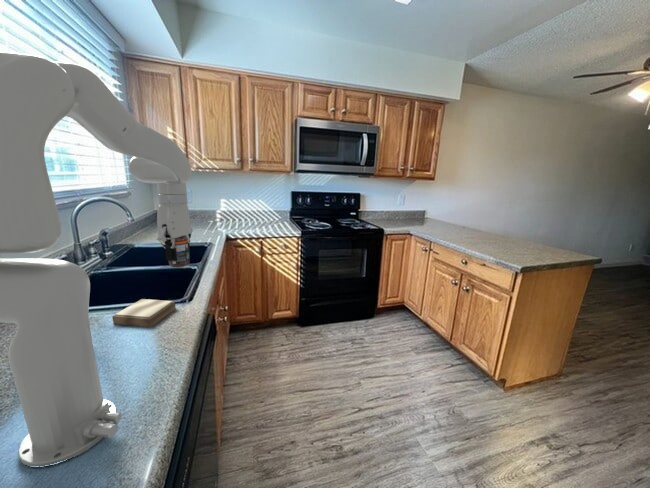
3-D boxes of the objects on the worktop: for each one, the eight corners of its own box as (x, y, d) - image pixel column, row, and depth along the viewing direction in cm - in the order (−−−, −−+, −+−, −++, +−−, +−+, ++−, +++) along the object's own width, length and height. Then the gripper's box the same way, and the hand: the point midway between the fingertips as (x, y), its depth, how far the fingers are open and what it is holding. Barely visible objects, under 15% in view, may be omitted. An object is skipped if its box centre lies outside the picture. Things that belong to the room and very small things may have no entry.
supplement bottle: (169, 263, 89) (165, 228, 86) (189, 261, 91) (187, 227, 89) (168, 268, 84) (164, 232, 81) (190, 266, 86) (187, 231, 84)
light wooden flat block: (175, 308, 94) (174, 300, 93) (150, 327, 82) (149, 317, 82) (142, 306, 95) (141, 298, 94) (113, 324, 83) (112, 314, 83)
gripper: (179, 198, 92) (184, 250, 96) (139, 201, 75) (147, 264, 79) (200, 198, 91) (204, 251, 95) (165, 202, 74) (172, 266, 78)
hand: (178, 257), depth 87 cm, fingers closed on supplement bottle, 6 cm apart
